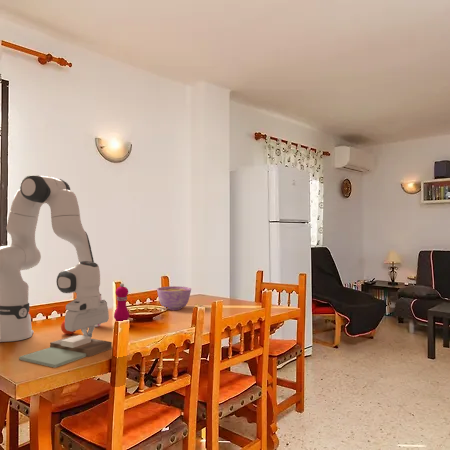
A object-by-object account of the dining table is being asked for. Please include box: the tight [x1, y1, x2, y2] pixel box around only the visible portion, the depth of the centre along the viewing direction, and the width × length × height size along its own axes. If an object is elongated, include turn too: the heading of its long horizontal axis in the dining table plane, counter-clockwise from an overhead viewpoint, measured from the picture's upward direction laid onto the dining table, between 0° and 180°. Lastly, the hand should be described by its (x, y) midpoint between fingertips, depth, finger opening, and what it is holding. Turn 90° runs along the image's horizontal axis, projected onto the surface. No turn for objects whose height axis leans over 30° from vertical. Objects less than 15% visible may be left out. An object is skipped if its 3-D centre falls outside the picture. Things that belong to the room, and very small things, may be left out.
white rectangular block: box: [60, 334, 92, 348], centre depth 159 cm, size 6×9×2 cm, turn 153°
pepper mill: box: [113, 282, 130, 323], centre depth 201 cm, size 7×7×20 cm
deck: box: [49, 335, 113, 358], centre depth 161 cm, size 20×12×2 cm, turn 63°
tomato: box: [60, 319, 76, 335], centre depth 183 cm, size 8×7×7 cm
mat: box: [18, 346, 87, 369], centre depth 150 cm, size 18×14×1 cm
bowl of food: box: [156, 285, 192, 311], centre depth 242 cm, size 20×20×12 cm
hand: (87, 337), depth 164 cm, fingers closed
